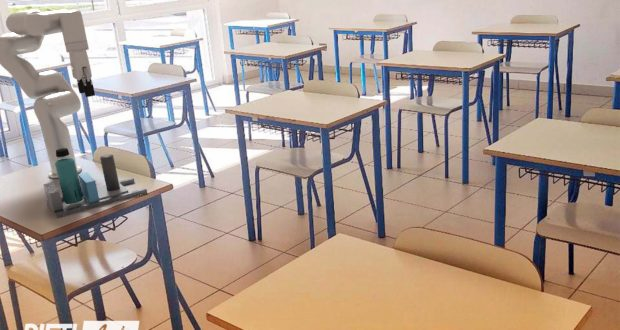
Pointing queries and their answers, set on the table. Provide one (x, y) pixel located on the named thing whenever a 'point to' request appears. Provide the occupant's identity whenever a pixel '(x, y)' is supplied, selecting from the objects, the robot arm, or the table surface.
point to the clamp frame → (57, 207)
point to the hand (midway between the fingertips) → (87, 94)
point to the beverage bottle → (68, 177)
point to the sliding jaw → (111, 182)
